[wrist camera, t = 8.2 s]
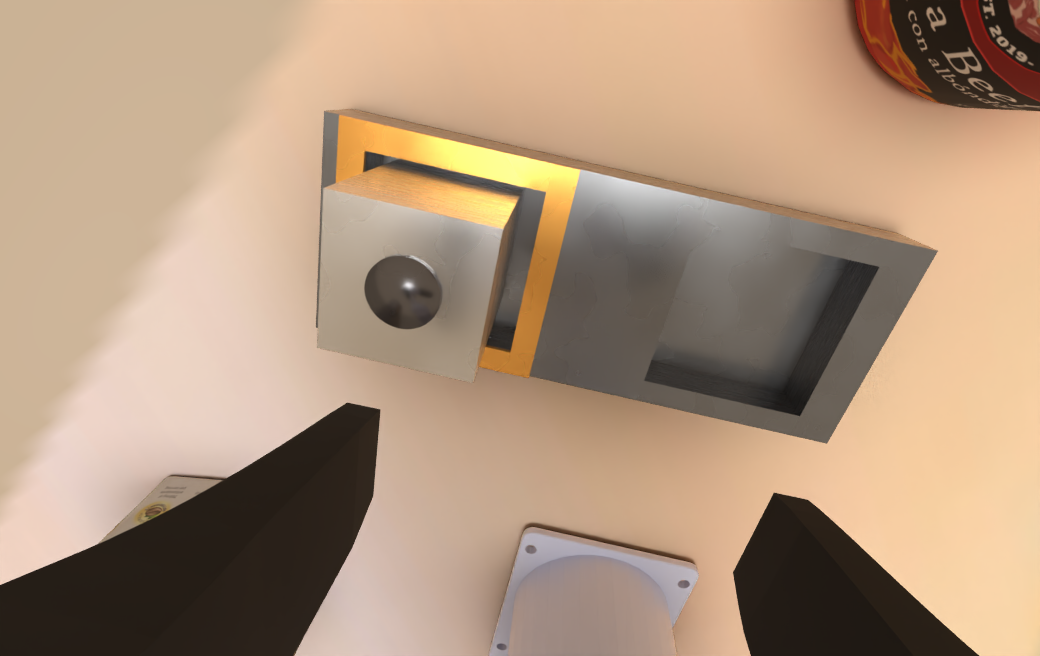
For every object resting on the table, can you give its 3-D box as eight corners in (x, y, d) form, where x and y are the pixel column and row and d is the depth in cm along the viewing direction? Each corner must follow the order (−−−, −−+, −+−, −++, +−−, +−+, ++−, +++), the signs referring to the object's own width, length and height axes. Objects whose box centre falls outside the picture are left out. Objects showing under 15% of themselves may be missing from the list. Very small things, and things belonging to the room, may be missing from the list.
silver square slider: (502, 296, 18) (472, 385, 13) (392, 271, 18) (315, 349, 13) (526, 183, 17) (502, 230, 11) (404, 156, 17) (321, 188, 11)
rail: (803, 410, 20) (828, 446, 18) (339, 305, 20) (314, 329, 18) (898, 233, 17) (941, 252, 15) (351, 109, 17) (321, 111, 15)
